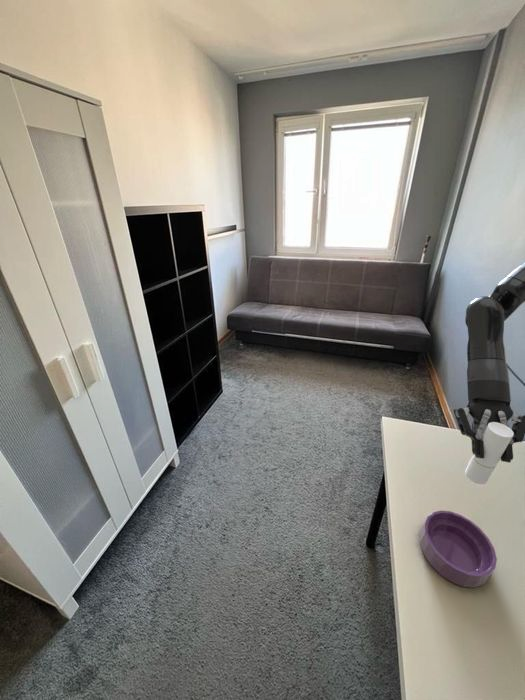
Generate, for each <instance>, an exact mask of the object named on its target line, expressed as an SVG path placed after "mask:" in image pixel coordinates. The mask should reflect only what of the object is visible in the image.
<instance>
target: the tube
mask: <svg viewBox="0 0 525 700" xmlns="http://www.w3.org/2000/svg"><path fill="white" fill-rule="evenodd" d="M509 427H510V426H509ZM509 427H507V426H506V425H504V424H501V423H497V422H490V423H489V424H488V426H487V427H486V429H485V430H484V432H483V436H482V439H481V441H483V447H484V458H483V459H482V458H476V457H475V454H473V453H472V456H471V458H470V460H469V462H468V464H467V467H466V469H465V471H464V474H465V476H466V477H467V478H468V479H469V480H470V481H471V482H473V483H475V484H478V485H485V484H487V483H488V481H489V480H490V477H491V475H492V474H493V473H494V470H495V469H496V467H497V465H498V464H499V462H500V461H501V456H502V455H503V453H504V451H505V449H506V447H507V446H508V444H509V442H510V440H511V439H512V437H513V435H514V433H513V431H512V430H511V429H512V428H511V427H510V428H509Z"/></svg>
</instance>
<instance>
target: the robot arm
mask: <svg viewBox="0 0 525 700" xmlns="http://www.w3.org/2000/svg"><path fill="white" fill-rule="evenodd" d="M524 303H525V261H524V262H523V263H521V264H520V265H518V266H517V267H516V268H515V269H514V270H512V271H511V272H510V273H509V274H508V275H507V276H505V277H504V278H503V279H502V280H501V281H500V282H499V283H497V285H496V286H495V287H494V290H493V291H492V293H490V294H489V295H484V296H479V297H476V298H475V299H473V300H472V301H470V303H469V304H468V305H467V307H466V310H465V320H464V321H465V325H466V327H467V335H468V338H467V339H468V341H467V347H466V351H467V352H466V354H467V356H466V357H467V366H466V367H467V368H466V378H467V379H466V384H467V385H466V387H467V401H468V404H467V405H466V407H457V408H454V409H453V414H454V417H455V419H456V422H457V425H458V428H459V431H460V434H461V435H462V436H466V437H468V438H469V439H470V440H471V452H472V455H473V454H475V457H476V458H482V459H483V458H484V447H483V441H481V439H482V436H483V434H484V432H485V430H486V428H487V426H488V424H489V423H490V422H497V423H501V424H504V425H506V426H507V427H509V428H510V429H511V430H512V431H513V433H514V435H513V437H512V439H511V440H510V442H509V444H508V446H507V447H506V449H505V451H504V453H503V455H502V456H501V458H500V461H501V462H504V463H511V462H512V461H513V459H514V450H513V445H514V444H516V443H523V442H524V438H525V414H524V415H521V414H518V413H517V412H516V413H515V412H514V410H513V409H512V407H511V401H512V399H511V388H510V375H509V374H510V373H511V374H512V375H513V376H514V377H515V378H516V379H517V380H518V381H519V382H520V383H521V384H522V385H523V386H524V387H525V382H524V381H523V379H521V378H520V376H518V375H517V374H516V373H515V371H514V370H513V369H512V368H511V367H510V365H508V363H507V356H506V346H505V342H504V334H505V321H506V320H507V319H508V318H509V317H511V316H512V315H513V314H514V313H515V312H516V311H517V310H518V308H520V307H521V306H522V305H523V304H524ZM509 372H510V373H509ZM469 415H470V416H471V418H472V419H473V421H472V424H471V425H470V422H469V419H468V417H469ZM510 420H511V423H512V426H511V427H510V425H509V423H508V422H509V421H510Z"/></svg>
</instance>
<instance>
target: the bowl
mask: <svg viewBox="0 0 525 700" xmlns="http://www.w3.org/2000/svg"><path fill="white" fill-rule="evenodd" d="M419 545H420V547H421V550H422V553H423V555H424V557H425V558H426V560H427V562H428V563H429V564H430V565H431V567H432V568H433V569H434V570H435V571H436V572H437V573H438V574H439V575H440V576H442V577H443V578H445V579H446V580H447V581H449V582H451V583H453V584H456V585H458V586H459V587H464V588H471V589H472V588H477V587H481V586H482V585H484V583H486V581H487V580H488V579H489V577H490V576H491V575H492V574H493V572H494V570H496V568H497V561H498V558H497V554H496V550H495V547H494V545H493V544H492V542H491V540H490V538H489V537H488V536H487V535H486V534H485V532H484V531H483V530H482V529H481V528H480V527H479V526H478V525H476V523H474V522H473V521H472V520H471V519H469V518H467V517H465V516H463V515H462V514H460V513H457V512H454V511H451V510H442V509H441V510H437V511H433V512H431V513H430V514H429V515H428V516H427V517H426V519H425V522H424V523H423V526H422V528H421V531H420V533H419Z"/></svg>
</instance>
